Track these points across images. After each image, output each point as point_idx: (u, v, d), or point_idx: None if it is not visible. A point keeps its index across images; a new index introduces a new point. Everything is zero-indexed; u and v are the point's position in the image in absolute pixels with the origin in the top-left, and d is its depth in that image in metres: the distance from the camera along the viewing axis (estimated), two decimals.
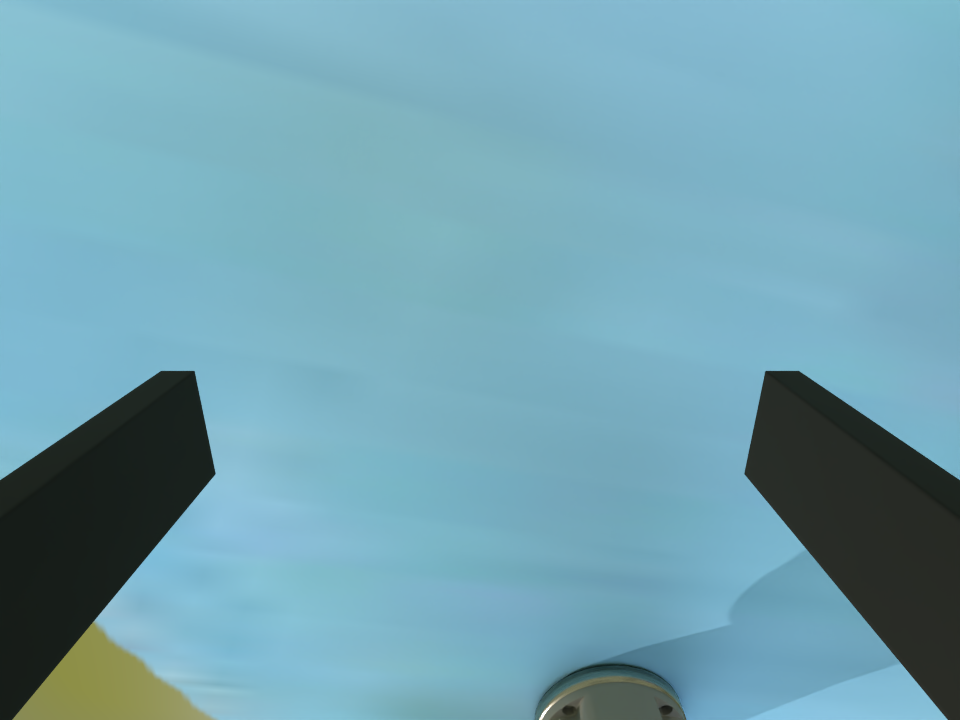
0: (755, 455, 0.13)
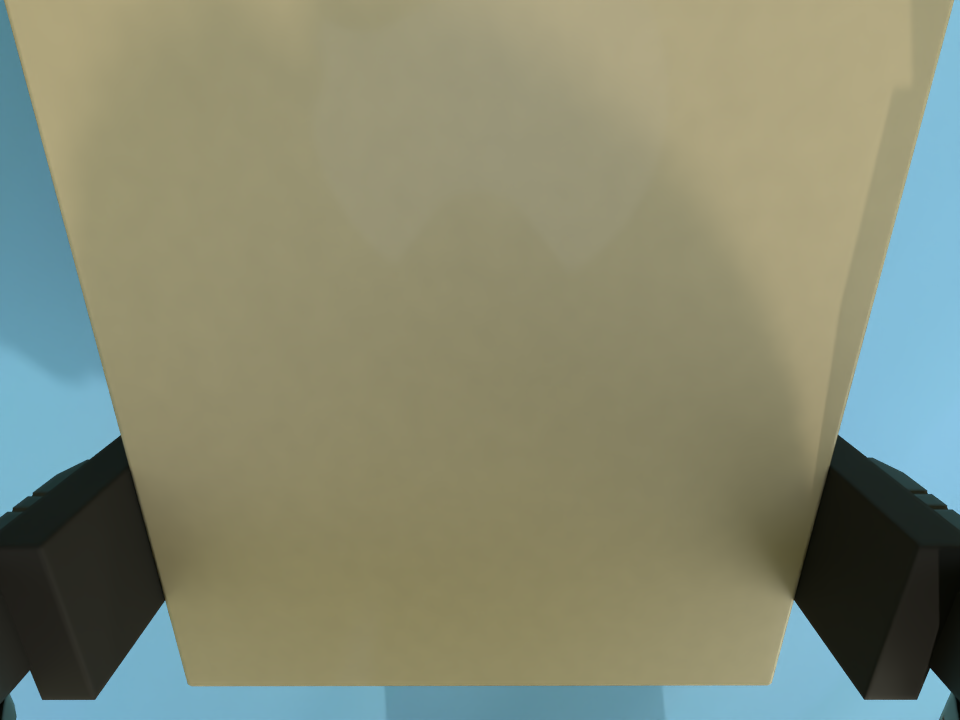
0: None
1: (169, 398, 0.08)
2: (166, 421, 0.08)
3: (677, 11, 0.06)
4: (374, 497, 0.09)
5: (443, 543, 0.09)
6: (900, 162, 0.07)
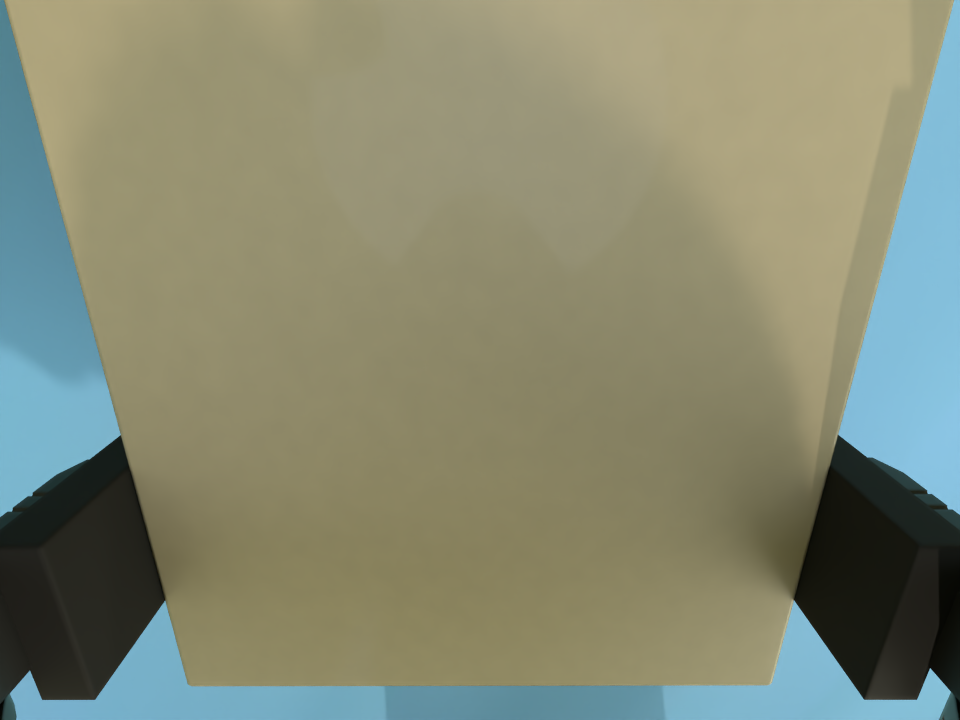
0: None
1: (169, 398, 0.08)
2: (166, 421, 0.08)
3: (677, 10, 0.06)
4: (374, 497, 0.09)
5: (443, 543, 0.09)
6: (900, 162, 0.07)
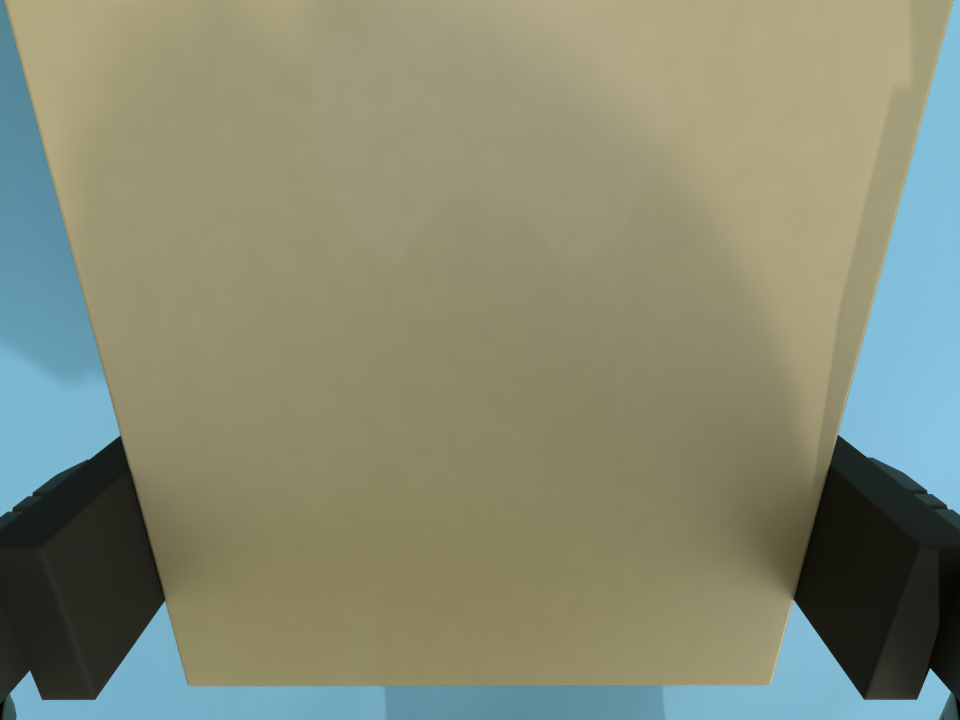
0: None
1: (169, 398, 0.08)
2: (166, 421, 0.08)
3: (677, 11, 0.06)
4: (374, 497, 0.09)
5: (443, 543, 0.09)
6: (900, 162, 0.07)
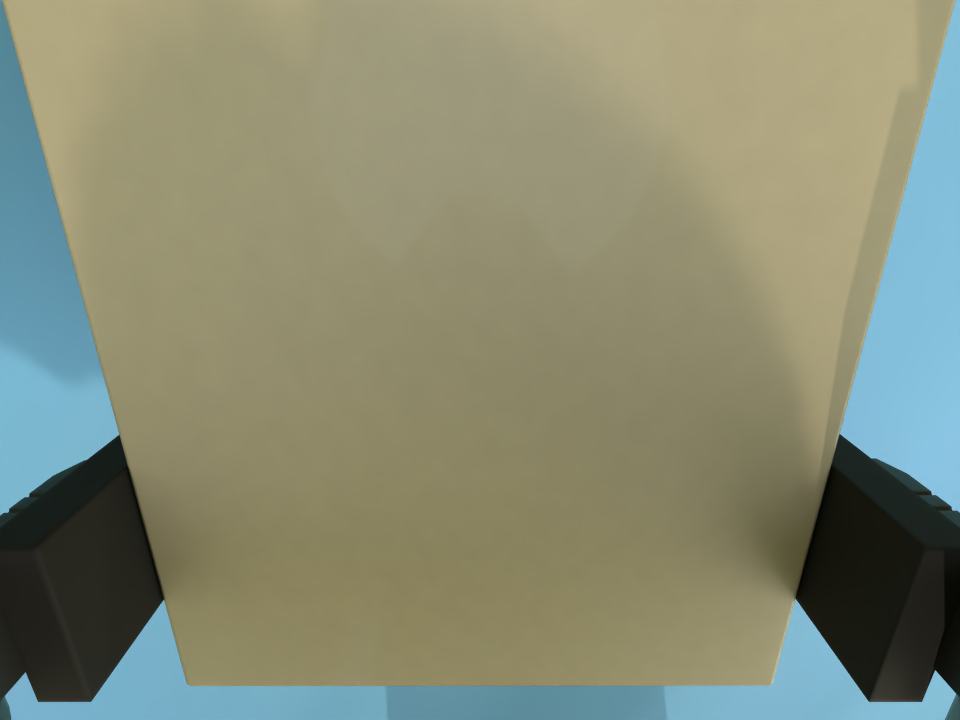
0: None
1: (168, 397, 0.08)
2: (164, 420, 0.08)
3: (679, 6, 0.06)
4: (373, 496, 0.09)
5: (443, 542, 0.09)
6: (902, 159, 0.07)
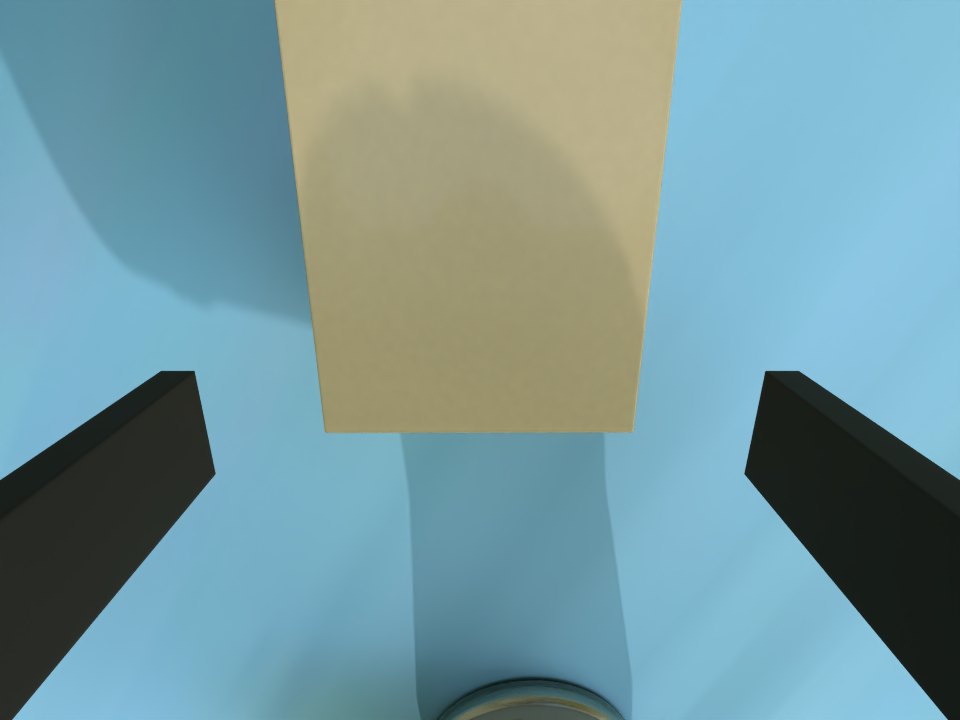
0: (754, 455, 0.13)
1: (333, 266, 0.17)
2: (330, 278, 0.17)
3: (559, 92, 0.15)
4: (427, 318, 0.18)
5: (460, 345, 0.18)
6: (659, 154, 0.16)
